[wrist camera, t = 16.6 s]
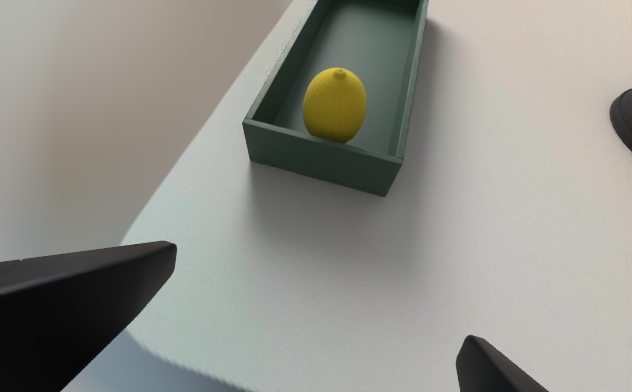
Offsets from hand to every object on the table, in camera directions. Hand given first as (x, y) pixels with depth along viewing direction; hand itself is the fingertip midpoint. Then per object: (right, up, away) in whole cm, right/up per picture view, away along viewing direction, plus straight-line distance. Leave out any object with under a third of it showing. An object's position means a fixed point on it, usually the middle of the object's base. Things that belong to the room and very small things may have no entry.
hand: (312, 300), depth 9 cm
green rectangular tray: (+5, +19, +27) cm, 33 cm away
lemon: (+1, +9, +21) cm, 22 cm away
